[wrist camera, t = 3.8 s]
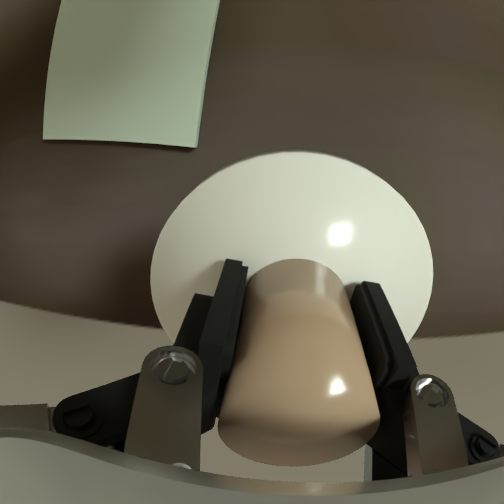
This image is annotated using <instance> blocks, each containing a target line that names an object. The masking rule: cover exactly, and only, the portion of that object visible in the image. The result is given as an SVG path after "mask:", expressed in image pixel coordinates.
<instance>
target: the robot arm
mask: <svg viewBox="0 0 504 504" xmlns="http://www.w3.org/2000/svg"><path fill="white" fill-rule="evenodd" d="M242 264H243V261H239V260H233V259H227V258H226V260H225V263H224V266H223V269H222V272H221V275H220V278H219V281H218V284H217V288H216V291H215V294H214V296H209V295H203V294H198V293H195V294H194V296H193V298H192V300H191V303H190V305H189V308H188V310H187V313H186V315H185V317H184V320H183V322H182V325H181V327H180V330H179V332H178V335H177V337H176V340H175V342H174V345H173V346H164V347H160V348H157V349H155V350H153V351H151V352H150V353H149V354H148V355H147V356H146V357H145V359H144V361H143V364H142V368H141V372H140V373H137V374H135V375H132V376H129V377H126V378H123V379H121V380H118V381H115V382H112V383H109V384H106V385H103V386H100V387H98V388H94V389H91V390H88V391H85V392H82V393H79V394H76V395H72V396H70V397H68V398H66V399H63V400H62V401H61V402H60V403H59V404H58V405H57V406H56V407H49V406H48V404H35V405H34V404H32V405H11V406H10V405H7V406H0V504H504V445H503V444H500V445H498V442H497V441H496V439H495V438H494V437H493V436H492V435H491V434H490V433H488V432H487V431H485V430H484V429H482V428H481V427H479V426H478V425H476V424H475V423H473V422H472V421H470V420H469V419H467V418H466V417H464V416H463V415H461V414H460V413H458V412H457V408H456V404H455V401H454V397H453V394H452V391H451V389H450V388H449V386H448V385H447V384H446V383H445V382H443V381H442V380H441V379H440V378H438V377H436V376H433V375H428V374H422V375H419V373H418V370H417V368H416V367H417V366H416V363H415V361H414V358H413V356H412V353H411V351H410V349H409V346H408V344H407V342H406V339H405V337H404V335H403V332H402V330H401V328H400V326H399V323H398V321H397V319H396V317H395V315H394V312H393V310H392V308H391V306H390V304H389V302H388V300H387V298H386V295H385V293H384V291H383V289H382V287H381V285H380V284H379V283H375V282H368V281H363V282H362V283H361V285H360V284H357V285H356V286H355V289H354V292H353V294H352V297H351V300H350V305H351V308H352V312H353V315H354V318H355V322H356V325H357V329H358V332H359V336H360V339H361V343H362V346H363V350H364V354H365V357H366V361H367V365H368V369H369V372H370V376H371V380H372V384H373V388H374V392H375V396H376V401H377V405H378V409H379V413H380V424H379V427H378V430H377V432H376V433H375V434H374V436H373V437H372V438H371V439H370V440H369V441H368V442H367V443H366V446H365V462H364V482H346V483H345V482H343V483H305V482H304V483H303V482H283V481H268V480H258V479H249V478H240V477H233V476H226V475H219V474H213V473H207V472H202V471H200V440H201V434H203V433H205V432H207V431H209V430H211V429H212V428H213V427H214V424H215V419H216V417H218V418H219V415H220V410H221V405H222V399H223V394H224V389H225V385H226V383H227V381H228V379H229V376H230V370H231V364H232V359H233V353H234V348H235V342H236V336H237V331H238V325H239V320H240V314H241V309H242V303H243V297H244V292H245V286H246V280H247V273H248V266H242Z"/></svg>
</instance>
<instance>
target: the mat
mask: <svg viewBox="0 0 504 504" xmlns="http://www.w3.org/2000/svg"><path fill="white" fill-rule="evenodd" d="M219 4H220V0H62V1H61V5H60V9H59V13H58V17H57V22H56V26H55V31H54V37H53V42H52V48H51V54H50V60H49V68H48V75H47V84H46V94H45V107H44V124H43V139H72V140H105V141H124V142H139V143H152V144H164V145H175V146H184V147H194V148H195V147H197V145H198V137H199V128H200V121H201V113H202V105H203V98H204V91H205V84H206V78H207V71H208V65H209V59H210V53H211V47H212V41H213V35H214V30H215V24H216V19H217V14H218V9H219Z"/></svg>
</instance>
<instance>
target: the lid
mask: <svg viewBox="0 0 504 504" xmlns="http://www.w3.org/2000/svg"><path fill="white" fill-rule="evenodd" d="M226 258H227V259H233V260H239V261H243V264H242V266H248V273H247V280H246V286H245V292H244V297H243V303H242V309H241V314H240V320H239V325H238V331H237V336H236V342H235V348H234V353H233V359H232V364H231V370H230V376H229V379H228V381H227V383H226V385H225V389H224V394H223V399H222V405H221V410H220V415H219V421H218V433H219V436H220V437H221V439H222V441H223V442H224V443H225V444H226V446H228V447H229V448H230V449H231V450H233V451H234V452H236V453H237V454H239V455H241V456H243V457H245V458H248V459H250V460H253V461H256V462H260V463H264V464H270V465H276V466H290V467H291V466H292V467H293V466H309V465H316V464H321V463H325V462H330V461H333V460H336V459H339V458H342V457H344V456H346V455H349V454H351V453H353V452H354V451H356V450H358V449H359V448H361V447H362V446H364V445H365V444H366V443H367V442H368V441H369V440H370V439H371V438H372V437H373V436H374V434H375V433H376V432H377V430H378V427H379V424H380V413H379V409H378V405H377V401H376V396H375V392H374V388H373V384H372V380H371V376H370V372H369V369H368V365H367V361H366V357H365V354H364V350H363V346H362V343H361V339H360V336H359V332H358V329H357V325H356V322H355V318H354V315H353V312H352V308H351V305H350V300H351V297H352V294H353V292H354V289H355V286H356V285H357V284H360V285H361V283H362V282H363V281H368V282H375V283H379V284H380V285H381V287H382V289H383V291H384V293H385V295H386V298H387V300H388V302H389V304H390V306H391V308H392V310H393V312H394V315H395V317H396V319H397V321H398V323H399V326H400V328H401V330H402V332H403V335H404V337H405V339H406V342H407V343H408V342H409V340H410V339H411V338H412V336H413V335H414V333H415V332H416V330H417V328H418V327H419V325H420V323H421V321H422V319H423V317H424V314H425V312H426V309H427V307H428V303H429V299H430V295H431V291H432V282H433V260H432V255H431V250H430V245H429V242H428V239H427V236H426V233H425V231H424V228H423V226H422V224H421V222H420V221H419V219H418V217H417V215H416V214H415V212H414V211H413V209H412V208H411V207H410V206H409V204H408V203H407V202H406V201H405V199H404V198H403V197H402V196H401V195H400V194H399V193H398V192H397V191H395V190H394V189H393V188H392V187H391V186H390V185H389V184H388V183H386V182H385V181H384V180H382V179H381V178H380V177H379V176H377V175H376V174H374V173H372V172H371V171H369V170H368V169H366V168H365V167H363V166H361V165H359V164H357V163H355V162H352V161H350V160H348V159H345V158H343V157H339V156H336V155H332V154H329V153H325V152H319V151H311V150H303V149H301V150H277V151H271V152H265V153H259V154H256V155H253V156H250V157H247V158H243V159H240V160H238V161H236V162H234V163H232V164H230V165H228V166H225V167H223V168H221V169H220V170H218V171H217V172H215V173H214V174H212V175H211V176H209V177H208V178H206V179H205V180H204V181H203V182H201V183H200V184H199V185H198V186H197V187H196V188H195V189H194V190H193V191H192V192H191V193H190V194H189V195H188V196H187V197H186V198H185V199H184V200H183V201H182V202H181V203H180V205H179V206H178V207H177V208H176V210H175V211H174V212H173V213H172V215H171V216H170V217H169V219H168V221H167V222H166V224H165V226H164V228H163V230H162V231H161V233H160V236H159V238H158V241H157V244H156V246H155V249H154V254H153V259H152V264H151V278H150V284H151V293H152V299H153V303H154V307H155V311H156V314H157V316H158V318H159V321H160V323H161V325H162V327H163V329H164V331H165V332H166V334H167V336H168V337H169V339H170V340H171V342H172V343H173V344H174V342H175V340H176V337H177V335H178V332H179V330H180V327H181V325H182V322H183V320H184V317H185V315H186V313H187V310H188V308H189V305H190V303H191V300H192V298H193V296H194V294H195V293H198V294H203V295H209V296H214V294H215V291H216V288H217V284H218V281H219V278H220V275H221V272H222V269H223V266H224V263H225V260H226Z"/></svg>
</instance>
